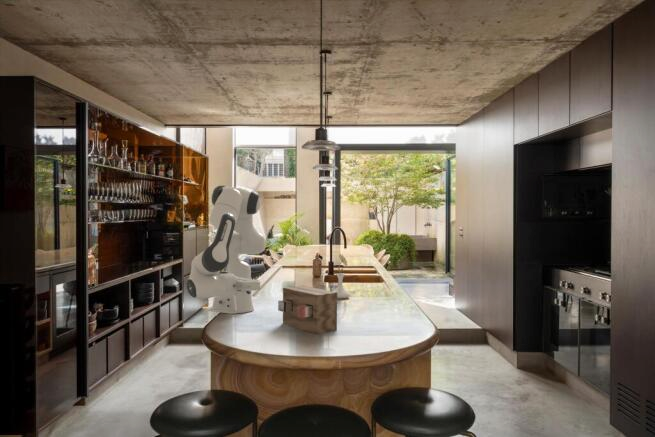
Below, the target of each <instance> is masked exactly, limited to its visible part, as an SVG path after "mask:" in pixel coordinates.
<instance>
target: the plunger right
mask: <svg viewBox="0 0 655 437" xmlns="http://www.w3.org/2000/svg"><path fill="white" fill-rule="evenodd" d="M298 316H299V317H303V318H305V317H309V316H313V305H302V306H298Z"/></svg>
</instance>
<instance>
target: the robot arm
mask: <svg viewBox="0 0 655 437" xmlns="http://www.w3.org/2000/svg"><path fill="white" fill-rule="evenodd" d="M211 204H212V205H213V207H212V210H211V213H210V218H209V221H210V224H211V225H212V227H214V229H215V230H216V233H215V235H214V238H213V240H212V243H211V244H210V245H209V246H207V247H206V248H205V249H204V250H203V251H202V252H200V253H198V254H197V255H196V256H195V257H193V259H192V260H191V262H190V269H191V270H190V274H189V277H188V278H187V279H186V280H187V281H186V289H187V293H188V295H189V296H191V298H194V299H211V298H214V299H213V302H212V305H211V306H210V307H208V310H207V312H214V313H223V314H230V315H233V314H240V313H241V314H243V313H250V312H252V311H254V310H255V308H254V305H253V299H252V291H259V290H260V289H261V281H260V280H259V279H254V278H253V279H252V268H251V265H250V264H249V263H247V262H245V261H243V260H242V259H240V258H239V255H255V254H261V253H262V252H264V250H265V248H266V245H267V241H266V238H265V236H264V235H263V234H262V233H261V232H259V231H258V230H257V229H256V228H255V227H254V224H253V223H254V222H253V220H254V219H253V215H255V214H257V213H258V211H259V210H260V208H261V205H262V200H261V196H260V194H259V193H258V192H256V191H254V190H252V191H251V190H248V189H245V188H242V187H235V186H226V185H218V186H216V187H215V188H214V189H213V191H212V193H211ZM226 268H227V273H219V272H220V271H223V270H224V269H226Z"/></svg>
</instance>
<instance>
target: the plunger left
mask: <svg viewBox="0 0 655 437" xmlns="http://www.w3.org/2000/svg"><path fill="white" fill-rule="evenodd" d="M277 306H278V308H277V309H278V311H279V312H282V313H283V312H286V311H292V310H293V300H283V299H282V300H278V305H277Z"/></svg>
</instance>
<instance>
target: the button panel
mask: <svg viewBox="0 0 655 437" xmlns="http://www.w3.org/2000/svg"><path fill="white" fill-rule="evenodd" d="M283 300H293V310H292V311H286V312H282V324H283V325H286V326H289V327H293V328H295V329H300V330H301V331H306V332H308V333H310V334H315V335H320V334H324V333H330V332H335V331H337V330H338V298H337V292H333V291H332V290H326V289H323V288H317V287H312V286H307V285H295V286H286V287H283V288H282V301H283ZM302 305H313V316H309V317H305V318H303V317H299V316H298V306H302Z"/></svg>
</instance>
